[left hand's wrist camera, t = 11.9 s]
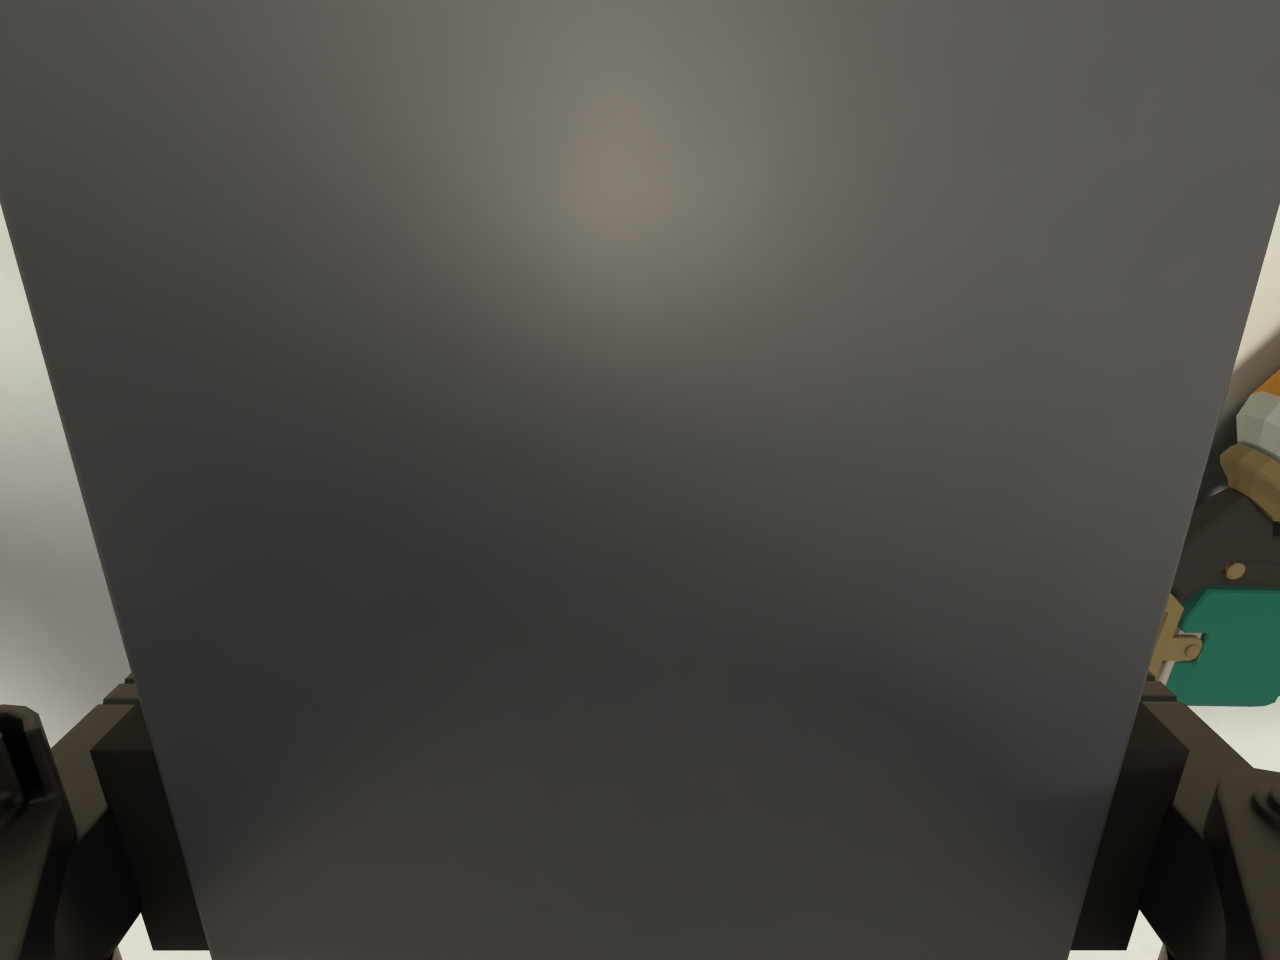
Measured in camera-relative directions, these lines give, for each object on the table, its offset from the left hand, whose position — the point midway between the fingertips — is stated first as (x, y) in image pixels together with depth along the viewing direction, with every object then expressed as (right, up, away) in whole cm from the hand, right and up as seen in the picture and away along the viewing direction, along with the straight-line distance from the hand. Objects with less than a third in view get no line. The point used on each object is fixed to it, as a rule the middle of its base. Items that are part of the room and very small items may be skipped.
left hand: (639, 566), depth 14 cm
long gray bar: (0, +26, -9) cm, 28 cm away
